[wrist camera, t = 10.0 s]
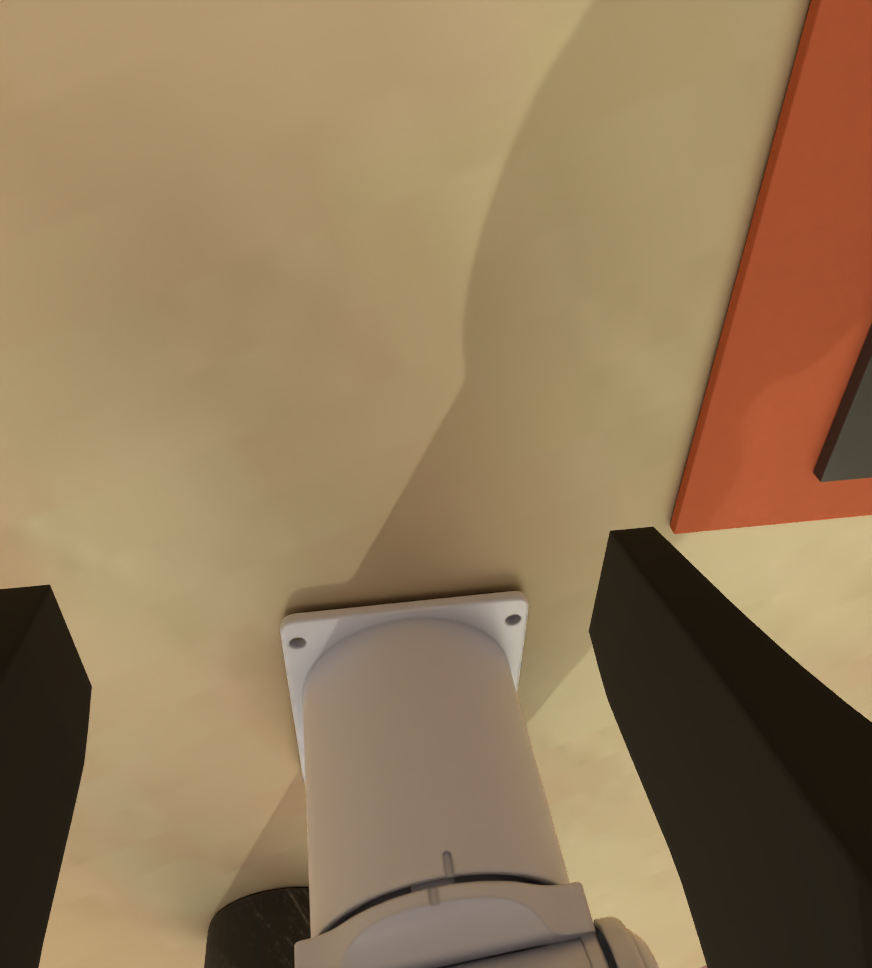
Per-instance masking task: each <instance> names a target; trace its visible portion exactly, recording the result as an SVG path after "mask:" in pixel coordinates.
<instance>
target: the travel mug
mask: <svg viewBox="0 0 872 968" xmlns="http://www.w3.org/2000/svg"><path fill="white" fill-rule="evenodd" d="M310 938H311V928H310V899H309V888H288V889H279V890H272V891H267V892H262V893H258V894H255V895H251V896H248V897H245V898H243V899H240V900H238V901H236V902H234V903H232V904H230V905H228V906H227V907H225V908H224V909H222V910H221V911H220V912H219V913H218V914H217V915H216V916H215V917H214V918H213V920H212V921H211V923H210V926H209V930H208V936H207V944H206V954H205V964H204V968H295V955H294V945H295V944H296V943H297V942H298V941H302V940H306V939H310Z"/></svg>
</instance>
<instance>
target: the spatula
mask: <svg viewBox="0 0 872 968" xmlns="http://www.w3.org/2000/svg"><path fill="white" fill-rule="evenodd" d="M813 474H814V475H815V476H816V477H817V479H818V480H819V481H820V482H830V481H841V480H852V479H863V478H872V324H871V327H870V329H869V332H868V334H867V337H866V339H865V342H864V344H863V347H862V349H861V352H860V354H859V357H858V359H857V362H856V364H855V367H854V370H853V372H852V375H851V377H850V380H849V382H848V385H847V387H846V390H845V392H844V395H843V397H842V400H841V402H840V405H839V407H838V410H837V412H836V415H835V418H834V420H833V423H832V425H831V428H830V430H829V433H828V435H827V438H826V440H825V443H824V445H823V448H822V450H821V453H820V455H819V458H818V461H817V463H816V466H815V468H814V471H813Z"/></svg>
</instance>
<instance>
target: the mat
mask: <svg viewBox="0 0 872 968" xmlns="http://www.w3.org/2000/svg"><path fill="white" fill-rule="evenodd" d="M871 324H872V0H811V3H810V6H809V10H808V14H807V18H806V21H805V25H804V29H803V32H802V36H801V40H800V44H799V47H798V51H797V55H796V59H795V62H794V66H793V70H792V73H791V77H790V81H789V85H788V88H787V92H786V96H785V99H784V103H783V107H782V111H781V114H780V118H779V122H778V126H777V129H776V133H775V137H774V140H773V144H772V148H771V152H770V155H769V159H768V163H767V166H766V170H765V174H764V178H763V181H762V185H761V189H760V192H759V196H758V200H757V204H756V207H755V211H754V215H753V219H752V222H751V226H750V230H749V233H748V237H747V241H746V245H745V248H744V252H743V256H742V259H741V263H740V267H739V271H738V274H737V278H736V282H735V285H734V289H733V293H732V297H731V300H730V304H729V308H728V312H727V315H726V319H725V323H724V326H723V330H722V334H721V338H720V341H719V345H718V349H717V352H716V356H715V360H714V364H713V367H712V371H711V375H710V379H709V382H708V386H707V390H706V393H705V397H704V401H703V405H702V408H701V412H700V416H699V419H698V423H697V427H696V431H695V434H694V438H693V442H692V445H691V449H690V453H689V457H688V460H687V464H686V468H685V472H684V475H683V479H682V483H681V486H680V490H679V494H678V498H677V501H676V505H675V509H674V512H673V516H672V520H671V524H670V527H671V529H672V531H673V533H674V534H678V533H689V532H699V531H709V530H720V529H730V528H740V527H751V526H761V525H771V524H782V523H792V522H802V521H813V520H823V519H833V518H844V517H854V516H864V515H872V478H863V479H852V480H841V481H830V482H820V481H819V480H818V479H817V477H816V476H815V475H814V474H813V471H814V468H815V466H816V463H817V461H818V458H819V455H820V453H821V450H822V448H823V445H824V443H825V440H826V438H827V435H828V433H829V430H830V428H831V425H832V423H833V420H834V418H835V415H836V412H837V410H838V407H839V405H840V402H841V400H842V397H843V395H844V392H845V390H846V387H847V385H848V382H849V380H850V377H851V375H852V372H853V370H854V367H855V364H856V362H857V359H858V357H859V354H860V352H861V349H862V347H863V344H864V342H865V339H866V337H867V334H868V332H869V329H870V327H871Z"/></svg>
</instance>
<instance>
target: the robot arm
mask: <svg viewBox="0 0 872 968" xmlns="http://www.w3.org/2000/svg"><path fill="white" fill-rule="evenodd" d="M528 609H529V604H528V601H527V597H526V595H525V594H524V593H522V592H519V591H507V592H497V593H488V594H478V595H468V596H459V597H449V598H439V599H430V600H420V601H410V602H401V603H391V604H381V605H372V606H362V607H352V608H343V609H333V610H323V611H314V612H304V613H295V614H290V615H288V616H286V617H284V618H283V619H282V621H281V623H280V635H281V641H282V648H283V654H284V661H285V667H286V673H287V680H288V686H289V692H290V699H291V705H292V711H293V718H294V724H295V730H296V737H297V743H298V750H299V756H300V762H301V769H302V775H303V781H304V783H305V784H306V813H307V841H308V870H309V899H310V928H311V938H310V939H306V940H302V941H298V942H297V943H296V944H295V945H294V955H295V968H659V966H658V964H657V962H656V960H655V958H654V956H653V954H652V952H651V951H650V949H649V947H648V946H647V944H646V943H645V942H644V941H643V940H642V939H641V938H640V937H639V936H637V935H636V934H634V933H633V932H632V931H630V930H629V929H627V928H626V927H625V925H624V924H623V923H622V922H621V921H620V920H619V919H617V918H615V917H605V918H600V919H596V920H594V922H593V921H592V918H591V914H590V911H589V907H588V904H587V900H586V897H585V893H584V890H583V886H582V884H581V883H579V882H575V883H570V882H569V878H568V875H567V871H566V867H565V864H564V860H563V857H562V853H561V849H560V846H559V842H558V839H557V835H556V832H555V828H554V824H553V821H552V817H551V814H550V810H549V806H548V803H547V799H546V796H545V792H544V788H543V785H542V781H541V778H540V774H539V770H538V767H537V763H536V760H535V756H534V753H533V749H532V745H531V742H530V738H529V735H528V731H527V727H526V724H525V720H524V717H523V713H522V709H521V706H520V702H519V699H518V695H517V693H518V685H519V678H520V670H521V662H522V655H523V647H524V640H525V632H526V625H527V617H528ZM513 614H514V615H513ZM509 615H512V616H509ZM589 633H590V637H591V641H592V644H593V648H594V652H595V656H596V660H597V664H598V667H599V671H600V674H601V678H602V681H603V685H604V688H605V692H606V695H607V699H608V701H609V704H610V706H611V709H612V711H613V714H614V716H615V719H616V721H617V724H618V726H619V729H620V731H621V734H622V736H623V739H624V741H625V743H626V746H627V748H628V751H629V753H630V756H631V758H632V760H633V763H634V765H635V768H636V770H637V773H638V775H639V777H640V780H641V782H642V785H643V787H644V789H645V792H646V794H647V797H648V799H649V801H650V804H651V806H652V809H653V811H654V813H655V816H656V818H657V821H658V823H659V826H660V828H661V830H662V833H663V835H664V838H665V840H666V842H667V845H668V847H669V850H670V852H671V855H672V858H673V861H674V863H675V866H676V869H677V871H678V874H679V877H680V880H681V882H682V885H683V889H684V892H685V895H686V898H687V902H688V905H689V908H690V911H691V915H692V918H693V921H694V924H695V928H696V931H697V934H698V937H699V941H700V944H701V947H702V950H703V954H704V957H705V960H706V964H707V967H708V968H872V722H870V721H869V720H868V719H866V718H865V717H864V716H863V715H861V714H860V713H859V712H857V711H856V710H855V709H854V708H852V707H851V706H850V705H848V704H847V703H846V702H845V701H843V700H842V699H841V698H840V697H839V696H837V695H836V694H835V693H834V692H833V691H831V690H830V689H829V688H828V687H826V686H825V685H824V684H823V683H822V682H820V681H819V680H818V679H817V678H816V677H814V676H813V675H812V674H811V673H809V672H808V671H807V670H806V669H805V668H803V667H802V666H801V665H800V664H799V663H798V662H796V661H795V660H794V659H793V658H792V657H791V656H790V655H788V654H787V653H786V652H785V651H784V650H783V649H782V648H781V647H779V646H778V645H777V644H776V643H775V642H774V641H773V640H772V639H771V638H770V637H768V636H767V635H766V634H765V633H764V632H763V631H762V630H761V629H760V628H759V627H757V626H756V625H755V624H754V623H753V622H752V621H751V620H750V619H749V618H747V617H746V616H745V615H744V614H743V613H742V612H741V611H740V610H739V609H738V608H737V607H736V606H735V605H734V604H733V603H732V602H730V601H729V600H728V599H727V598H726V597H725V596H724V595H723V594H722V593H721V592H720V591H719V590H718V589H717V588H716V587H715V586H714V585H713V584H712V583H711V582H710V581H709V580H708V579H707V578H706V577H704V576H703V575H702V574H701V573H700V572H699V571H698V570H697V569H696V568H695V567H694V566H693V565H692V564H691V563H690V562H689V561H688V560H687V559H686V558H685V557H684V556H683V555H682V554H681V553H680V552H679V551H678V550H677V549H676V548H675V547H674V546H673V545H672V544H671V543H670V542H668V541H667V540H666V539H665V538H664V537H663V536H662V535H661V534H660V533H659V532H658V531H657V530H656V529H655V528H654V527H646V528H635V529H625V530H615V531H610V533H609V538H608V543H607V547H606V552H605V557H604V562H603V566H602V571H601V576H600V580H599V585H598V590H597V595H596V599H595V604H594V609H593V614H592V618H591V623H590V628H589ZM294 638H300V639H294ZM91 689H92V686H91V683H90V681H89V679H88V676H87V674H86V671H85V669H84V666H83V664H82V662H81V659H80V657H79V654H78V652H77V649H76V647H75V645H74V642H73V640H72V637H71V635H70V632H69V630H68V628H67V625H66V623H65V620H64V618H63V615H62V613H61V611H60V608H59V606H58V603H57V601H56V598H55V596H54V593H53V591H52V589H51V586H50V585H41V586H31V587H20V588H10V589H0V968H38V967H39V962H40V957H41V951H42V946H43V941H44V937H45V933H46V928H47V924H48V920H49V915H50V911H51V907H52V902H53V898H54V894H55V890H56V885H57V881H58V877H59V872H60V868H61V864H62V859H63V855H64V851H65V846H66V842H67V838H68V834H69V829H70V825H71V820H72V816H73V812H74V807H75V803H76V798H77V794H78V789H79V785H80V780H81V776H82V771H83V766H84V760H85V751H86V742H87V733H88V723H89V712H90V700H91Z"/></svg>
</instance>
